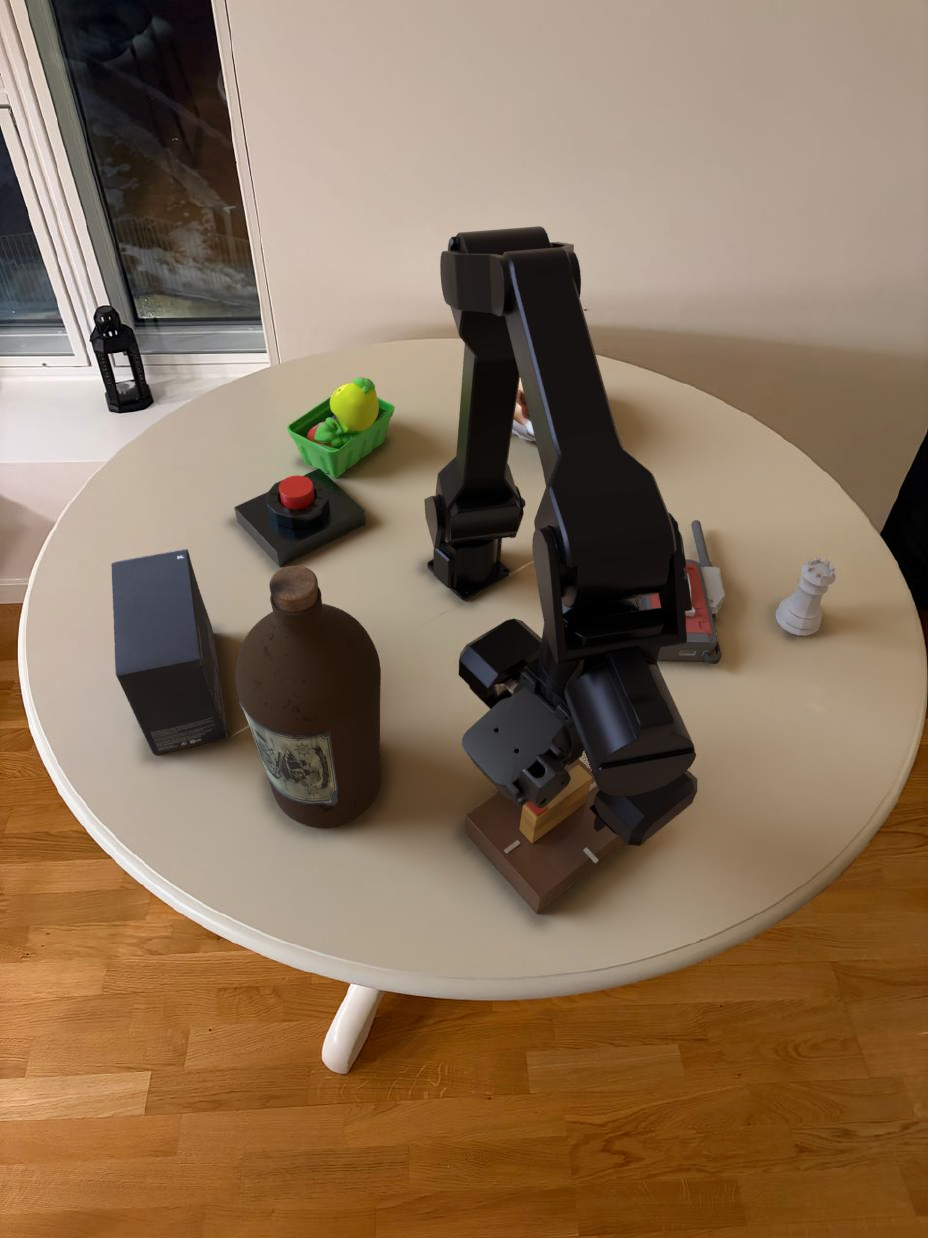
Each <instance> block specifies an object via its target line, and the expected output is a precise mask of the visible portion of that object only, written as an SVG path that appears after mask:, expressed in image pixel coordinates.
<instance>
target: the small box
mask: <svg viewBox="0 0 928 1238" xmlns="http://www.w3.org/2000/svg"><path fill="white" fill-rule="evenodd" d="M110 565H111V590H112V591H111V593H112V612H113V615H112V616H113V643H114V667H115V676H116V679H117V680H118V683H119V684H120V687H121V688H122V691H123V693H124V695H125V698H126V700H127V702H128V704H129V706H130V708H131V710H132V712H133V715H134V717H135V718H136V721H137V723H138V725H139V727H140V729H141V732H142V733H143V735H144V738H145V740H146V742H147V745H148V746H149V749H150V751H151V753H152V755H154V756H155V755H159V754H165V753H169V752H170V753H171V752H174V751H178V750H183V749H187V748H190V747H197V746H200V745H204V744H208V743H213V742H217V741H221V740H225V739H228V738H229V732H228V726H227V718H226V711H225V703H224V697H223V691H222V681H221V675H220V668H219V662H218V655H217V646H216V640H215V633H214V630H213V625H212V623H211V620H210V616H209V614H208V611H207V608H206V605H205V603H204V599H203V596H202V594H201V593H202V592H201V590H200V587H199V584H198V581H197V577H196V574H195V571H194V567H193V563H192V559H191V556H190V553H189V549H188V548H183V549H179V550H178V549H177V550H172V551H167V552H162V553H156V554H151V555H145V556H137V557H133V558H128V559H122V560H117V561H114V562H111V564H110Z"/></svg>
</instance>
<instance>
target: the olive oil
mask: <svg viewBox="0 0 928 1238" xmlns="http://www.w3.org/2000/svg"><path fill="white" fill-rule="evenodd" d="M318 582H319V581H318V577H317V575H316V573H315V572H314V571H313V570H311V569H310V568H309V567H305V566H302V565H289V566H285V567H281V569H279V570H277V571H276V572H275V573H274V574H273V575H272V576H271V578H270V580H269V585H268V586H269V591H270V597H269V601H270V604H271V610H272V611H271V612H270V613H267V614H266V615H265V616H263V617H262V618H261V619H259V621H258V622H257V623H256V624H255V625H254V626H253V627H251V629H250V630H249V632H248V633H247V635H246V636H245V638H244V640H243V642H242V643H241V645H240V649H239V653H238V655H237V661H236V666H235V667H236V668H235V687H236V691H237V695H238V698H239V700H238V703H239V705H240V708H241V709H242V710H243V713H244V715H245V718H246V720H247V723H248V726H249V728H250V731H251V734H252V736H253V739H254V742H255V745H256V747H257V750H258V754H259V756H260V759H261V761H262V764H263V767H264V770H265V773H266V776H267V780H268V782H269V785H270V788H271V791H272V794H273V797H274V800H275V802H276V804H277V805H278V807H279V808H280V809H281V811H282V812H284V814H285V815H286V816H288V817H289V818H291V819H292V820H293V821H295V822H297V823H299V824H302V825H304V826H308V827H311V828H312V827H313V828H331V827H337V826H340V825H343V824H347V823H349V822H351V821H353V820H355V819H356V818H358V817H359V816H360V815H362V814H363V813H364V812H365V811H366V810H367V809H368V808H369V807H370V806H371V805H372V804H373V802H374V801H375V799H376V798H377V795H378V793H379V789H380V787H381V783H382V782H381V780H382V760H381V758H382V757H381V687H382V686H381V685H382V684H381V683H382V681H381V680H382V673H381V672H382V669H381V661H380V657H379V654H378V650H377V647H376V645H375V644H374V641H373V640H372V638H371V636H370V634H369V633H368V631H367V630H366V628H365V627H364V626H363V625H362V623H361V622H360V621H359V620H357V619H356V618H355V616H353V615H351V614H350V613H349V612H347V611H345V610H343V609H341V608H338V607H336V606H333V605H330V604H326V603H323V597H322V590H321V588H320V587H319V583H318Z"/></svg>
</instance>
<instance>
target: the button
mask: <svg viewBox="0 0 928 1238" xmlns="http://www.w3.org/2000/svg"><path fill="white" fill-rule="evenodd" d="M282 480H283V481H282ZM282 480H281V481H282V482H281V483H280V485H279V492H280V498H281V502H282V504H283V505H284V506H285V507H287V508H289V509H303V508H305V507H307V506H310V505H311V504H312V503H313V501H314V498H315V496H314V488H313V483H312V481H311V480H310V479H309V478H307V477H304V476H303V475H298V474H297V475H291V476H288V477H285V478H284V479H282Z"/></svg>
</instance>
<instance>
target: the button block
mask: <svg viewBox="0 0 928 1238" xmlns="http://www.w3.org/2000/svg"><path fill="white" fill-rule="evenodd" d="M302 476H304V477H307V478H309V479H310V480H311V481H312V483H313V488H314V496H315V498H314V501H313V503H312V504H311V505H310V506H307V507H305V508H303V509H289V508H287V507H285V506H284V505H283V504H282V502H281V498H280V492H279V485H280V483H281V482H282V481H283V480H284V479H281V480H279V481H277V482H275V483H274V484H273V485H272V486H271V487H270V489H269V490H268V491H267V492H264V493H262V494H260V495H258V496H256V497H253V498H251V499H249V500H247V501H244V502H242V503H240V504H238V505H236V506H234V508H233V509H234V513H235V517H236V522H237V523H238V524H239V526H240V527H241V528H242V529H243V530H244V531H245V532H246V533H247V534H248V535H249V537H251V538H252V540H253V541H255V543H256V544H257V545H258V546H259V547H260V548H261V549H262V550H263V551H264V552H265V554H267V556H268V557H269V558H270V559H271V560H272V561H273V563H275V565H276V566H278V567H279V568H283V567H284V566H286V565H288V564H290V563H292V562H294V561H296V560H298V559H300V558H301V557H304V556H306V555H307V554H310V553H312V552H314V551H315V550H317V549H320V548H322V547H324V546H326V545H328V544H330V543H332V542H334V541H336V540H338V539H340V538H343V537H344V536H345V535H347V534H350V533H351V532H354V531H355V530H358V529H360V528H362V527H363V526H366V512H365V509H364V508H363V507H362V506H361V505H360V504H359V503H358V502H356V500H355V499H354V498H352V497H351V496H350V495H349V494H348V493H347V492H346V491H345V490H344V489H342V487H340V486H339V484H337V483H336V481H334V480H333V479H332V478H331V477H329V476H328V474H327V473H325V472H323V471H322V470H321V469H320V468H319V469H317V468H316V469H314V470H312V471H309V472H308V473H306V474H304V475H302Z"/></svg>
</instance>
